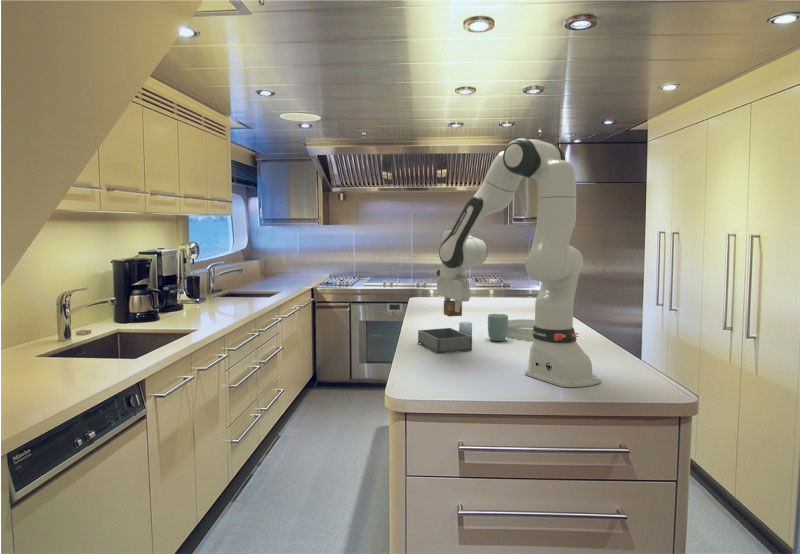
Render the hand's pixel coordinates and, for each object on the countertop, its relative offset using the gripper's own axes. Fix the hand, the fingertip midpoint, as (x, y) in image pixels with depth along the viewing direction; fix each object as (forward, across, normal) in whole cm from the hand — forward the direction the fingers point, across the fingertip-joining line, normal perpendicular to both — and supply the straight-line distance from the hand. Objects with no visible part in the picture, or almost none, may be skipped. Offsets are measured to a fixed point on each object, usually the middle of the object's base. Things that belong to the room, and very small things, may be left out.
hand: (452, 310), depth 193 cm
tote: (+14, +2, +2) cm, 14 cm away
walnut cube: (+2, 0, 0) cm, 2 cm away
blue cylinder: (+14, +8, -10) cm, 18 cm away
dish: (+14, +8, -39) cm, 42 cm away
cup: (+14, +4, -22) cm, 26 cm away
